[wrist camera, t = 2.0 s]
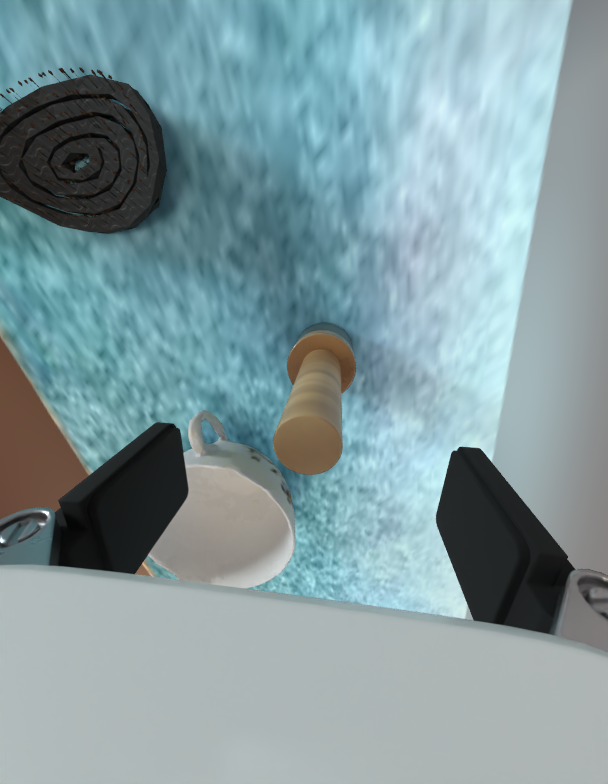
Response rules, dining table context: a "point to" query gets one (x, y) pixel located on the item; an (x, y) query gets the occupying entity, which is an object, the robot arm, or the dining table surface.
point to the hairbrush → (83, 154)
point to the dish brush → (315, 400)
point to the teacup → (228, 515)
